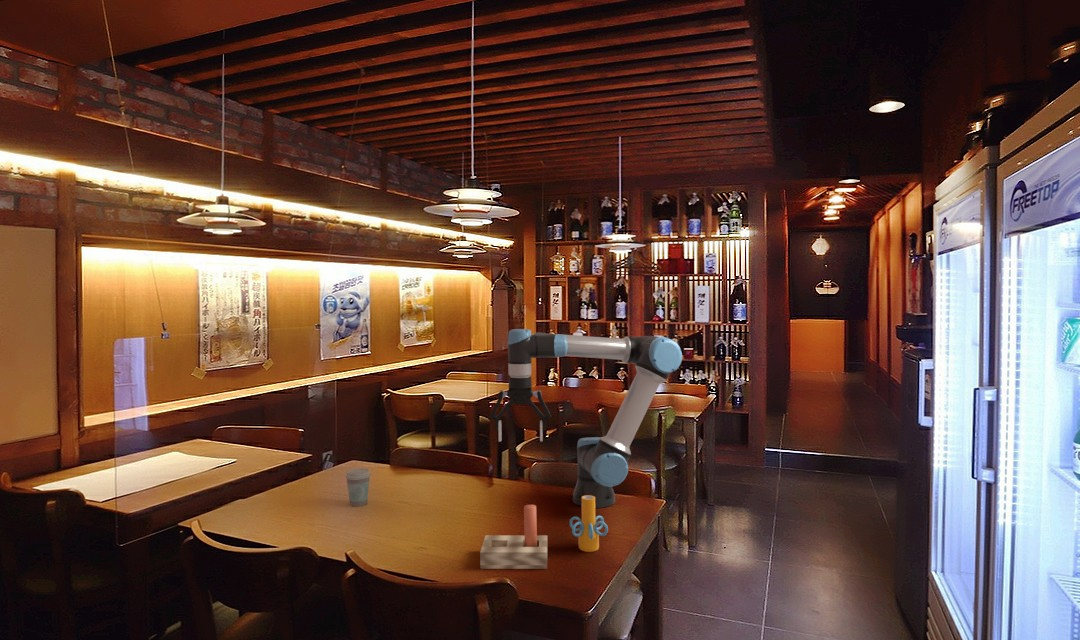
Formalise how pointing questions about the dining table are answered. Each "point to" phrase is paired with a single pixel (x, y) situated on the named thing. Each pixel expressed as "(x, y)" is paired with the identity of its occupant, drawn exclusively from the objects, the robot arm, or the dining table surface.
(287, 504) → the dining table surface
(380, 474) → the dining table surface
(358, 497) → the coffee cup
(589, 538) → the cylinder
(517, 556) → the socket block
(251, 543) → the dining table surface
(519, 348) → the robot arm
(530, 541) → the dowel
